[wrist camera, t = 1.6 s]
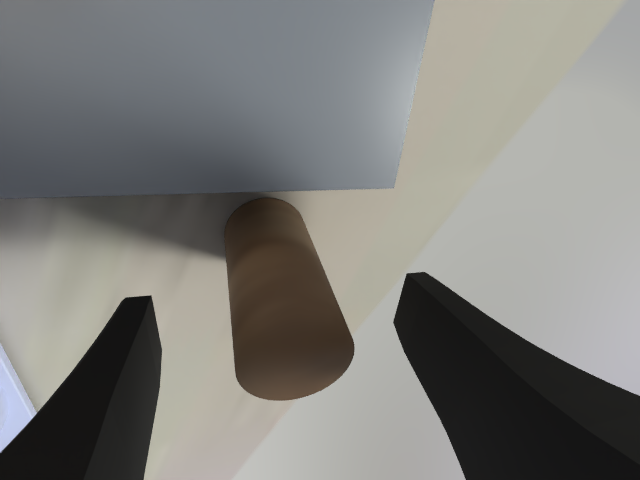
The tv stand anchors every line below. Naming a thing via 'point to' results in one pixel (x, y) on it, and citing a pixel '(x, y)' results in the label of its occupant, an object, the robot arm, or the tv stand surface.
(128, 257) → the tv stand surface
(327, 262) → the tv stand surface
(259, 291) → the peg
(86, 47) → the housing
